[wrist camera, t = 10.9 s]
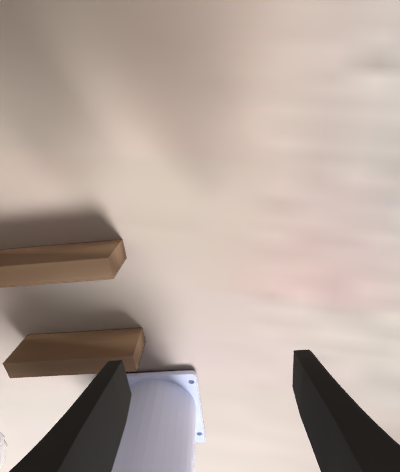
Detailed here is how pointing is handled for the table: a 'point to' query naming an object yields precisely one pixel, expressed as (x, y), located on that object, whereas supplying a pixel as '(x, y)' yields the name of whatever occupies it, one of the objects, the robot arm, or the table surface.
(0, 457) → the vase
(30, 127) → the table surface
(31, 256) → the shelf slot
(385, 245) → the table surface
